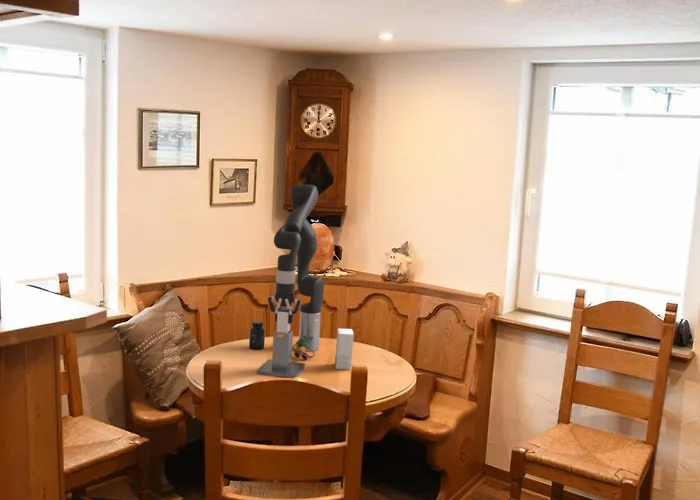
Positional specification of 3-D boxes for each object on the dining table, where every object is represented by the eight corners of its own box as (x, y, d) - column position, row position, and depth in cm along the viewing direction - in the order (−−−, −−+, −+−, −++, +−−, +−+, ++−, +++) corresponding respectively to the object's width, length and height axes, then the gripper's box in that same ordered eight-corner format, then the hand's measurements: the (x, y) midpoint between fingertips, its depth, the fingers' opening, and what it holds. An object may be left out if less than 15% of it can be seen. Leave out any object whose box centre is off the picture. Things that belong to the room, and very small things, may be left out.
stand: (268, 362, 299) (269, 325, 297) (305, 366, 296) (307, 329, 294) (256, 374, 283) (258, 335, 281) (295, 378, 281) (297, 339, 278)
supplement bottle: (245, 348, 318) (246, 322, 316) (255, 345, 324) (256, 319, 322) (257, 351, 315) (258, 324, 313) (267, 348, 320) (268, 322, 319)
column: (278, 357, 292) (280, 307, 289) (288, 358, 291) (291, 308, 288) (274, 360, 287) (277, 309, 284) (286, 361, 287) (288, 310, 284)
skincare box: (334, 363, 304) (336, 328, 301) (350, 364, 304) (352, 328, 302) (336, 369, 295) (338, 333, 293) (351, 370, 296) (354, 333, 294)
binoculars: (294, 360, 311) (287, 344, 306) (306, 346, 317) (299, 330, 311) (311, 365, 306) (303, 349, 300) (323, 351, 311) (316, 334, 306)
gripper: (305, 281, 287) (303, 322, 290) (271, 278, 289) (269, 319, 292) (300, 284, 280) (298, 326, 282) (265, 281, 282) (263, 323, 285)
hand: (283, 322), depth 287 cm, fingers closed on column, 4 cm apart
